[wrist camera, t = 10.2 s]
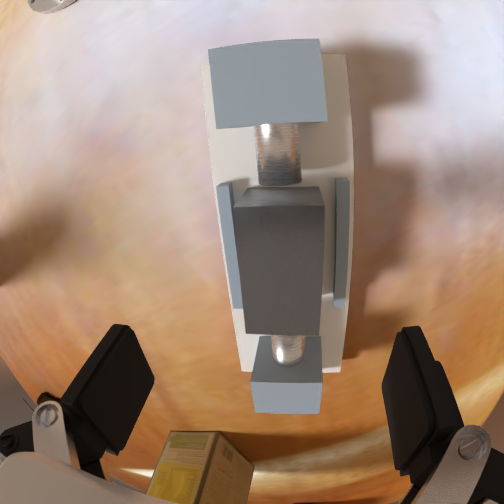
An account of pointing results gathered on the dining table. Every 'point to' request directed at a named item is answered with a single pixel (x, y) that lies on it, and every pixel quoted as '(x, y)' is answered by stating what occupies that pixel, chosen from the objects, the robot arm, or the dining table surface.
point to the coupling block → (281, 259)
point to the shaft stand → (284, 175)
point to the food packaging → (201, 470)
